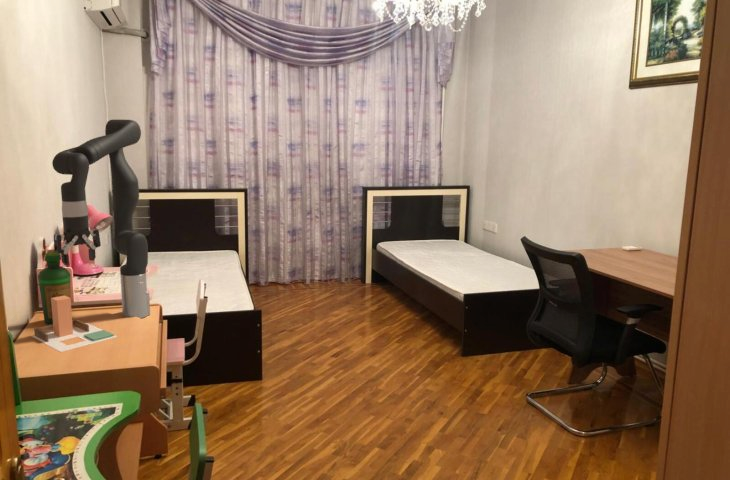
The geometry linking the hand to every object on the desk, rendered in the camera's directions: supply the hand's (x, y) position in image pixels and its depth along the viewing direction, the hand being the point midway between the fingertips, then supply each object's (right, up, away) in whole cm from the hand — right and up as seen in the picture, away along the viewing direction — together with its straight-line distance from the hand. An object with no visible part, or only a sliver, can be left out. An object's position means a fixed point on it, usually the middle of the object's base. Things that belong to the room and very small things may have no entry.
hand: (79, 262), depth 189 cm
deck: (-5, -27, +7) cm, 28 cm away
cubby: (-10, -25, +9) cm, 29 cm away
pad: (+3, -26, +8) cm, 27 cm away
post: (-10, -25, +9) cm, 29 cm away
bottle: (-19, -24, +23) cm, 38 cm away
